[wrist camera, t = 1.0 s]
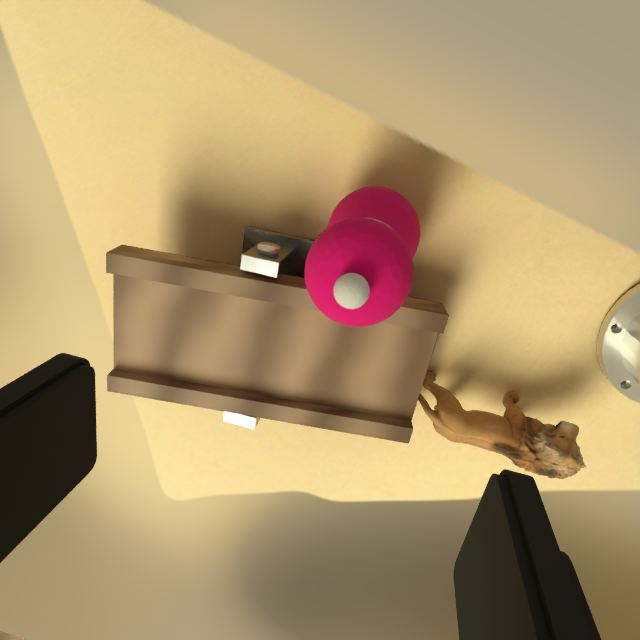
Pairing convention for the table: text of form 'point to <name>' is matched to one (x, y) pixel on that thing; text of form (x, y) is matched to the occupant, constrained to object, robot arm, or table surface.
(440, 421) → the lion figurine
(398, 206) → the pepper mill
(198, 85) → the table surface
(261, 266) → the beam stand
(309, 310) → the balance beam
